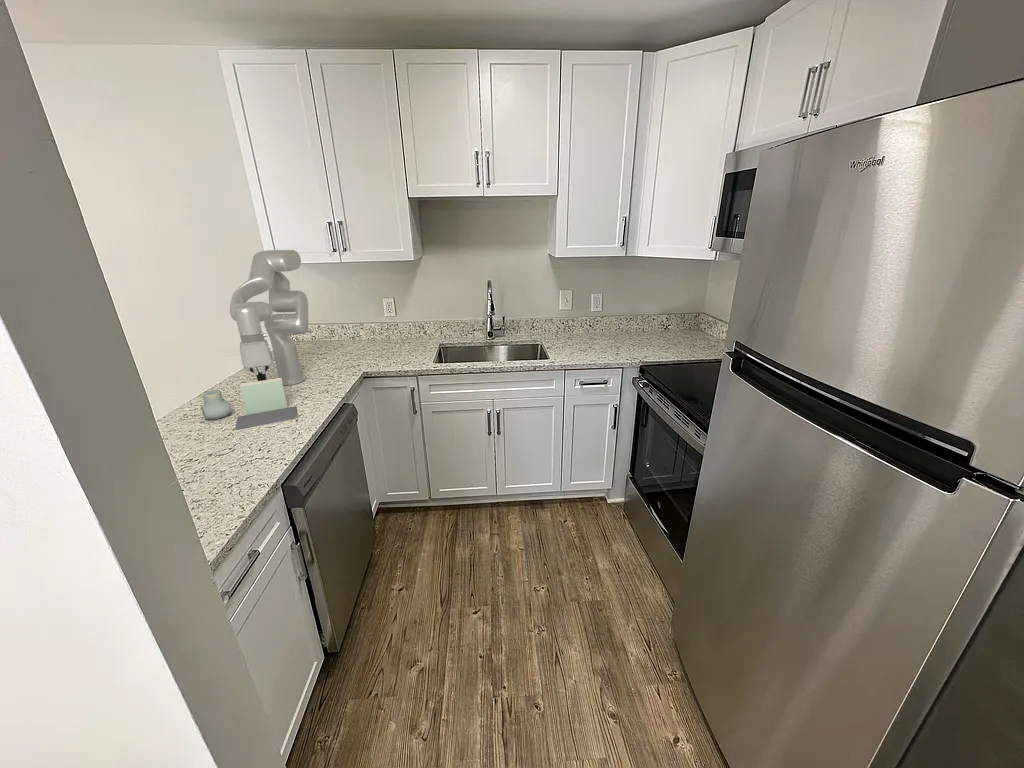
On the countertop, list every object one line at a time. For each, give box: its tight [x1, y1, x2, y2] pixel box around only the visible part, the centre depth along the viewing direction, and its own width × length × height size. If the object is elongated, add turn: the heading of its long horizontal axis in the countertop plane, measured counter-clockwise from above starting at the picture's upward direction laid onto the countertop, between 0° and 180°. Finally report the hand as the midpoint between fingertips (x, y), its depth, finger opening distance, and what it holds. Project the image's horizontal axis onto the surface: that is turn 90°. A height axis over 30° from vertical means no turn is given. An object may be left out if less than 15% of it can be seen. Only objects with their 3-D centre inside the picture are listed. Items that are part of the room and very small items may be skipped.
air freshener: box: [200, 389, 232, 421], centre depth 161 cm, size 11×8×10 cm
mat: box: [234, 405, 298, 431], centre depth 160 cm, size 12×20×1 cm, turn 117°
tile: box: [239, 377, 289, 415], centre depth 165 cm, size 4×14×12 cm, turn 117°
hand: (262, 382), depth 169 cm, fingers closed
